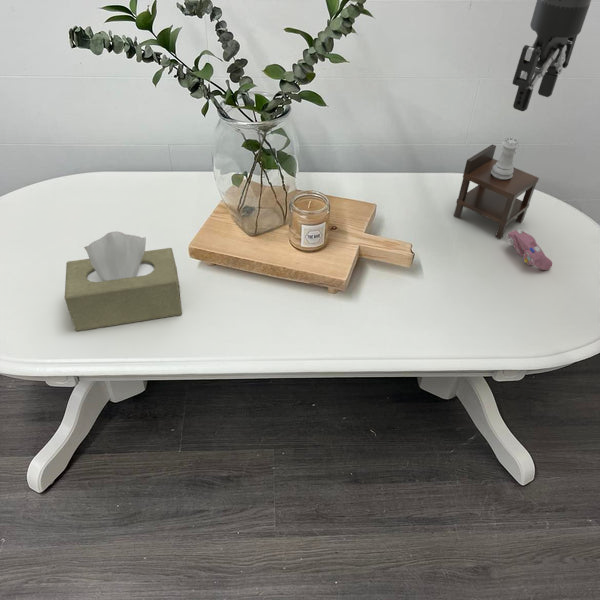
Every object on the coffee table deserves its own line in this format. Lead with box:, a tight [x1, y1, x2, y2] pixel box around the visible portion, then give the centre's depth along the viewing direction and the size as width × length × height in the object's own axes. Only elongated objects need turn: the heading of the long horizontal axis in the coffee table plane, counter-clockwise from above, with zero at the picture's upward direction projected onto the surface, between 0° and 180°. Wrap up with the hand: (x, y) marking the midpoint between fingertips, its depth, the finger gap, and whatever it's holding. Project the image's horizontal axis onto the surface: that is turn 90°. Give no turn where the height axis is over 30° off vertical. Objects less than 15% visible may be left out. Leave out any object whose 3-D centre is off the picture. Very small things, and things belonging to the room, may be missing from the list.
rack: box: [453, 143, 540, 240], centre depth 123 cm, size 12×10×14 cm
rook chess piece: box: [491, 136, 520, 180], centre depth 117 cm, size 4×4×8 cm
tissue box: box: [64, 230, 183, 332], centre depth 99 cm, size 19×10×16 cm, turn 105°
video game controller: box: [507, 228, 553, 271], centre depth 115 cm, size 10×5×7 cm, turn 17°
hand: (532, 102), depth 97 cm, fingers open, 8 cm apart
